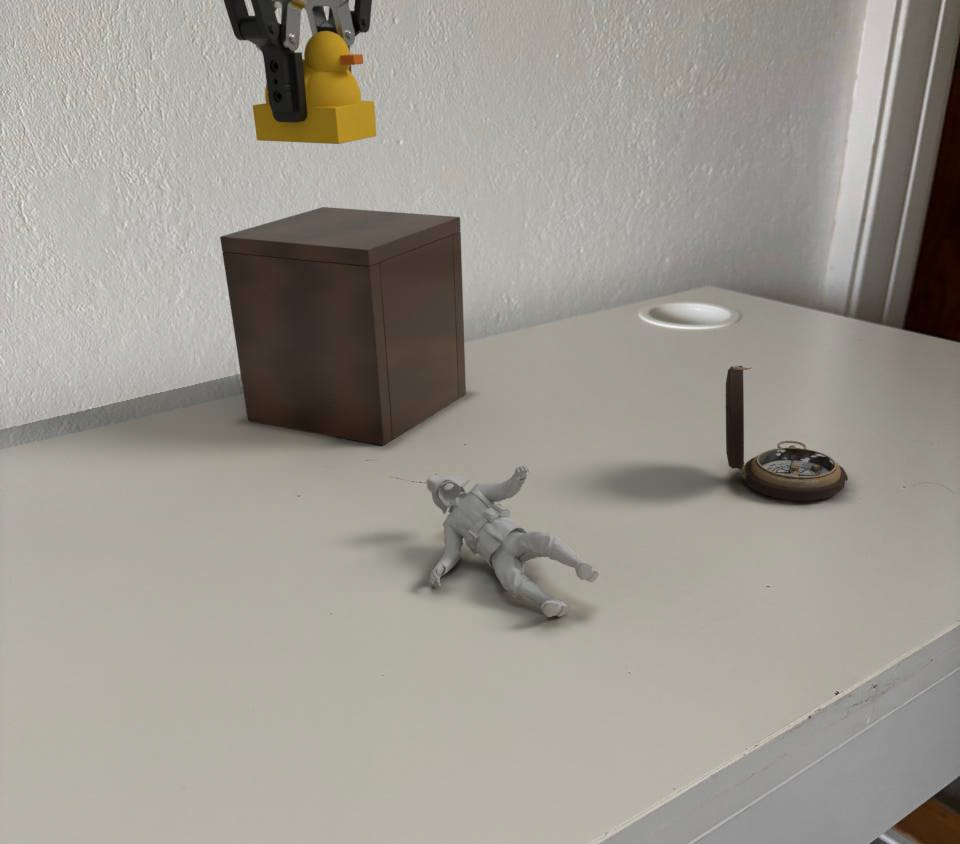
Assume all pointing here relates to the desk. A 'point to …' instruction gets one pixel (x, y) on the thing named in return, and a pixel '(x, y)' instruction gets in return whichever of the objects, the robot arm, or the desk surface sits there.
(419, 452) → the desk surface
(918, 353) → the desk surface
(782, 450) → the compass
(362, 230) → the brown wooden box
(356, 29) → the robot arm
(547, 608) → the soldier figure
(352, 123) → the rubber duck
